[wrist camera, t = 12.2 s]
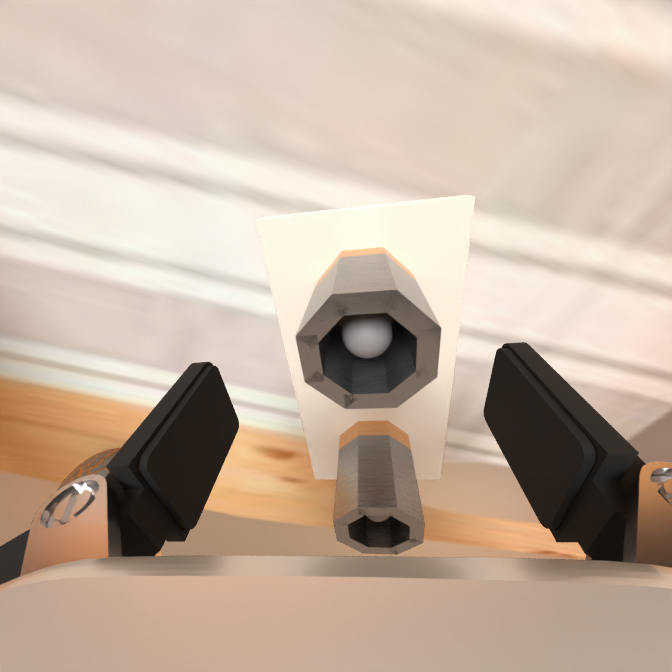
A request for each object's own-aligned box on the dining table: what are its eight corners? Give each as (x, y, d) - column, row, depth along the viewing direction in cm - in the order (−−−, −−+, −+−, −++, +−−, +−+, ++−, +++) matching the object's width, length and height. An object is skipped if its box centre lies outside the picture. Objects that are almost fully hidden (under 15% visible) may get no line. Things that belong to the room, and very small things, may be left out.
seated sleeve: (337, 421, 24) (330, 506, 18) (408, 420, 23) (425, 508, 17) (344, 465, 26) (339, 552, 20) (407, 465, 26) (421, 555, 20)
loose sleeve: (313, 253, 17) (287, 297, 11) (413, 244, 16) (445, 286, 10) (325, 337, 20) (310, 410, 14) (410, 332, 19) (434, 406, 13)
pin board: (263, 217, 17) (202, 243, 11) (465, 194, 16) (541, 208, 9) (317, 465, 29) (304, 552, 22) (436, 465, 28) (461, 557, 21)
